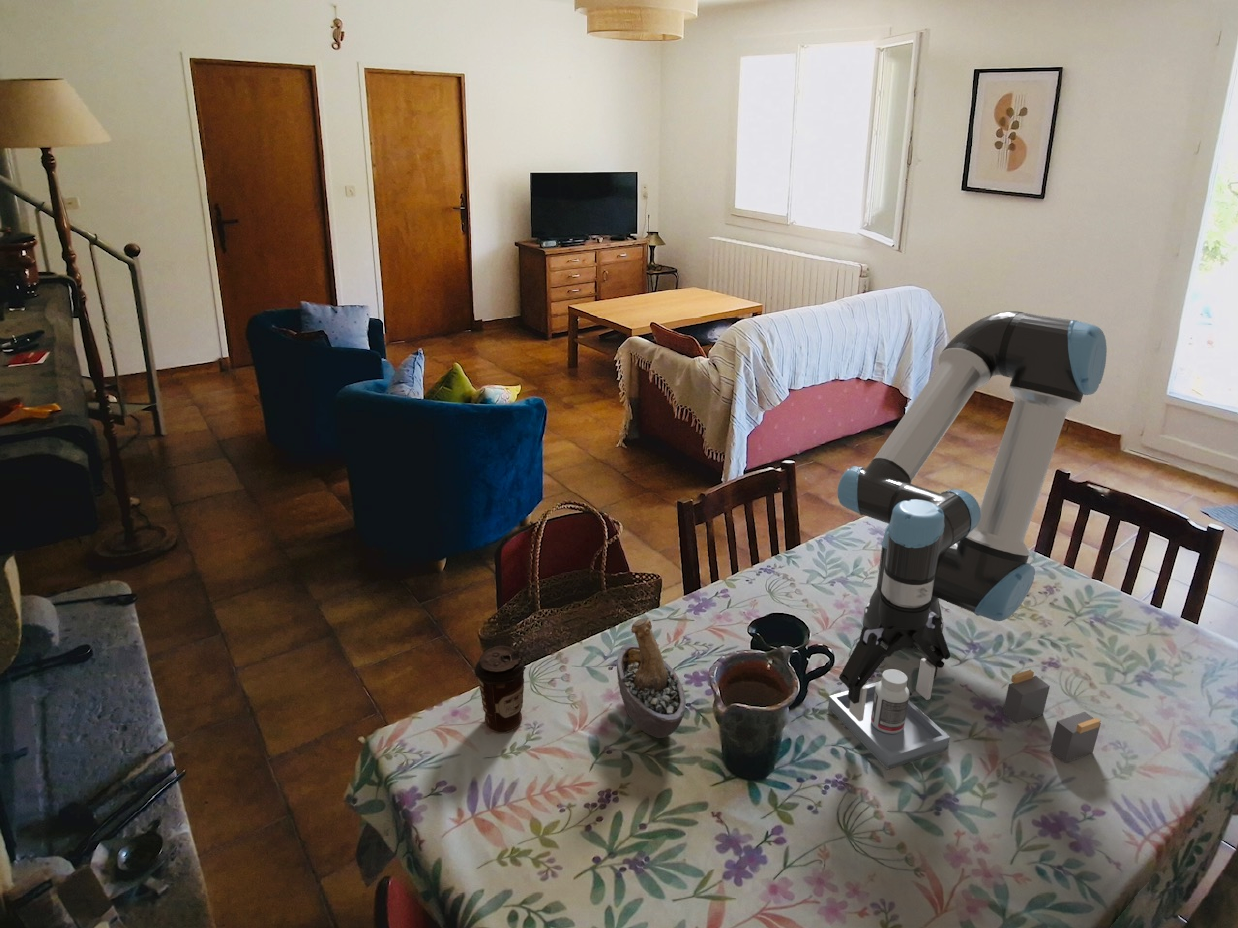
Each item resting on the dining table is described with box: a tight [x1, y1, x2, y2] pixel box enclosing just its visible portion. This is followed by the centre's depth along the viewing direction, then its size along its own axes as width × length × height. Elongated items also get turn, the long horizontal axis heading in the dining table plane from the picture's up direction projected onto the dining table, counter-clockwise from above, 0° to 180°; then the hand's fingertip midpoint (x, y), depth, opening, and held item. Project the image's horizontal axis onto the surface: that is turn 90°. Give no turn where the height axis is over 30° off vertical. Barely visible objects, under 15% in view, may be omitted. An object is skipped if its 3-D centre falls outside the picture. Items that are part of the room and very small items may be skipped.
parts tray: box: [827, 681, 951, 771], centre depth 141 cm, size 16×12×2 cm
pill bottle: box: [871, 668, 910, 734], centre depth 139 cm, size 5×5×10 cm
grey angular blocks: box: [1002, 669, 1102, 764], centre depth 139 cm, size 14×6×7 cm, turn 22°
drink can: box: [474, 645, 527, 734], centre depth 141 cm, size 9×8×13 cm
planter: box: [616, 618, 687, 739], centre depth 140 cm, size 15×17×20 cm
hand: (890, 705), depth 140 cm, fingers open, 13 cm apart
